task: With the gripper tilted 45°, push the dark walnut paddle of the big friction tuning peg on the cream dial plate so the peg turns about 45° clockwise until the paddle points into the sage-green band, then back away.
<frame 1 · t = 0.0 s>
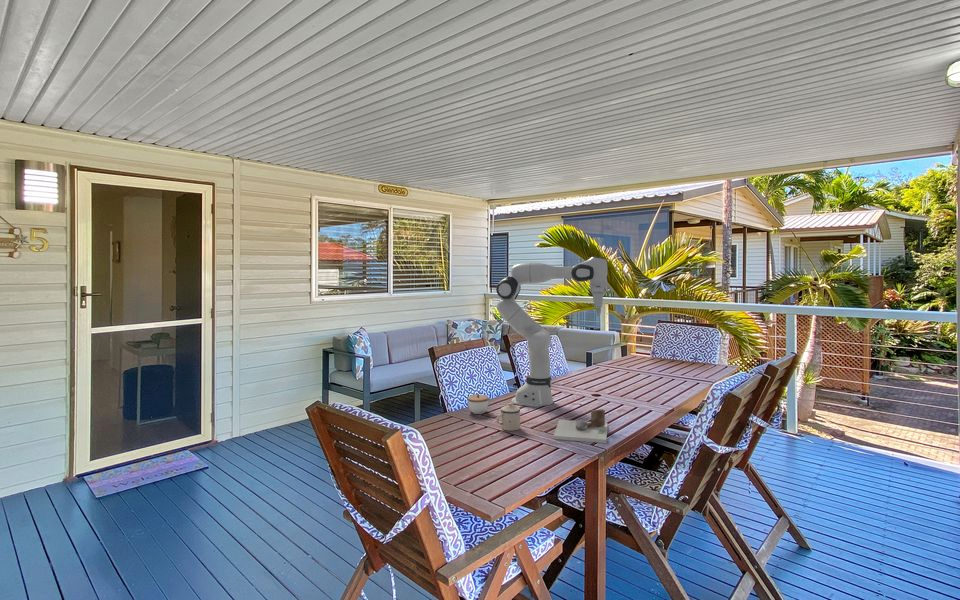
hand: (598, 314, 261), 48 cm above the table, tool pointing down, fingers open, 8 cm apart
teacup with lid: (508, 428, 232), on the table
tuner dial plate: (581, 432, 225), on the table
tuning peg: (590, 419, 226), point 5 cm above the table, hinge at 0.0°
lidded jar: (478, 412, 257), on the table
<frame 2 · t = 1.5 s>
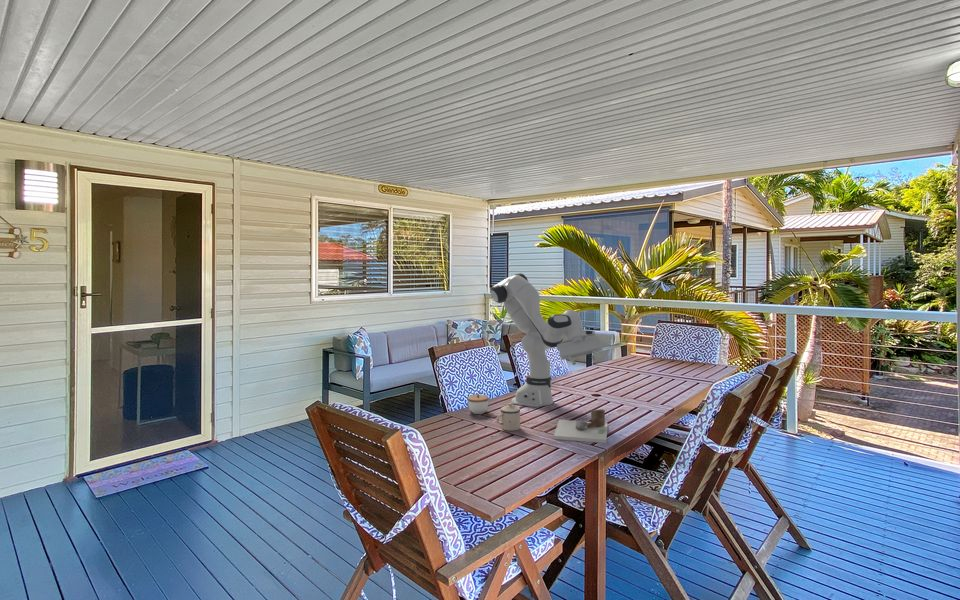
hand: (584, 361, 233), 30 cm above the table, tool tilted 50°, fingers open, 8 cm apart
nothing on the table moved.
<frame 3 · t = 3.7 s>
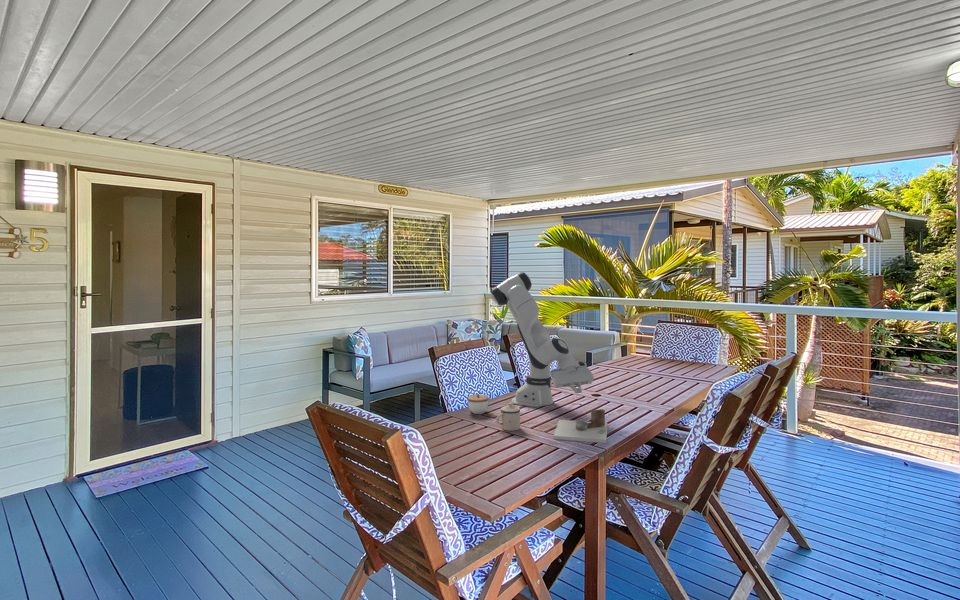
hand: (578, 392, 238), 14 cm above the table, tool tilted 45°, fingers closed
nothing on the table moved.
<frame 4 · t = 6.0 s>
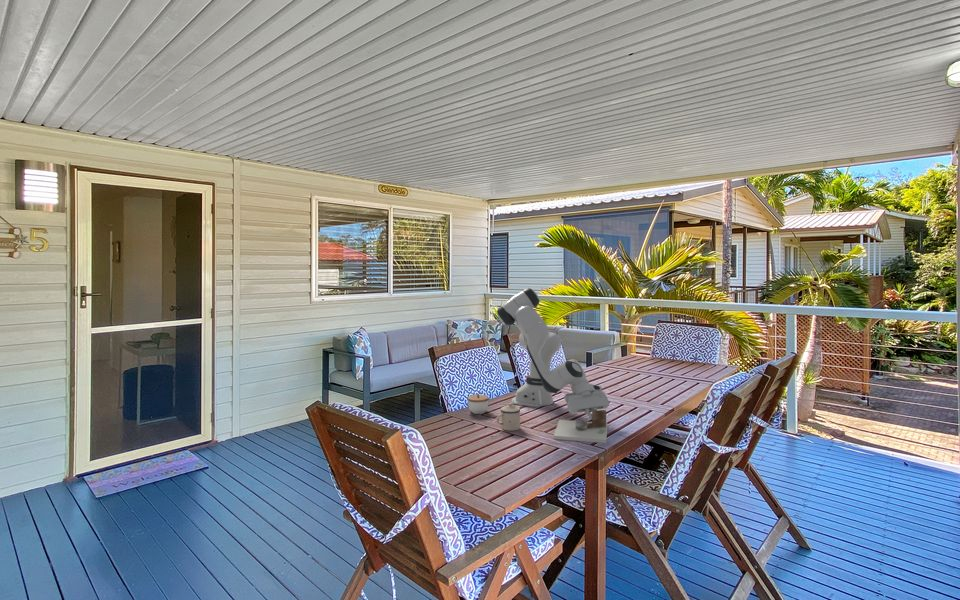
hand: (594, 418, 227), 5 cm above the table, tool tilted 45°, fingers closed, pressing on tuning peg
tuning peg: (590, 419, 225), point 5 cm above the table, hinge at -7.5°, touching gripper
everything else where it was.
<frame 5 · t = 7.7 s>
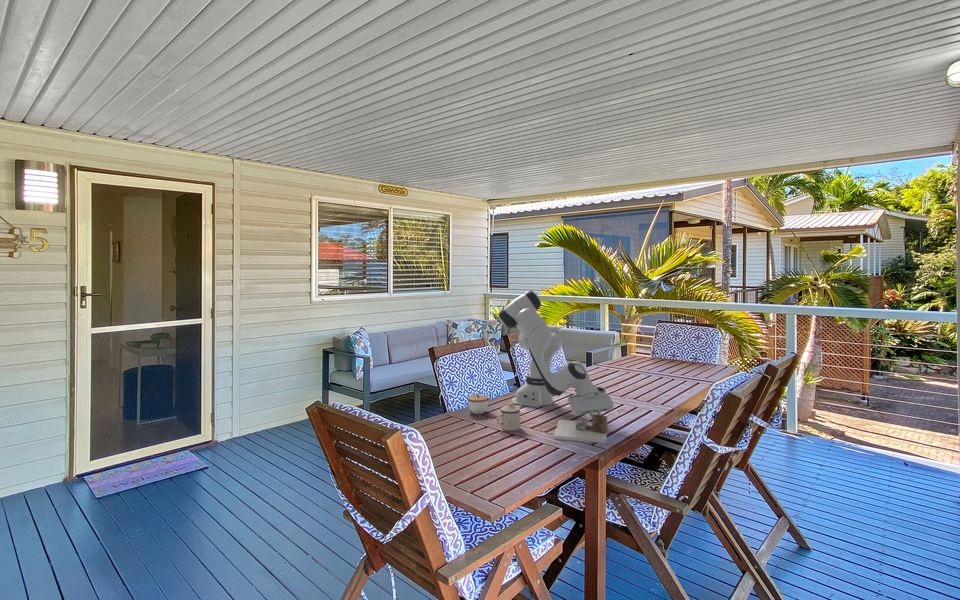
hand: (598, 420, 224), 5 cm above the table, tool tilted 45°, fingers closed
tuning peg: (591, 422, 222), point 5 cm above the table, hinge at -53.9°
everything else where it was.
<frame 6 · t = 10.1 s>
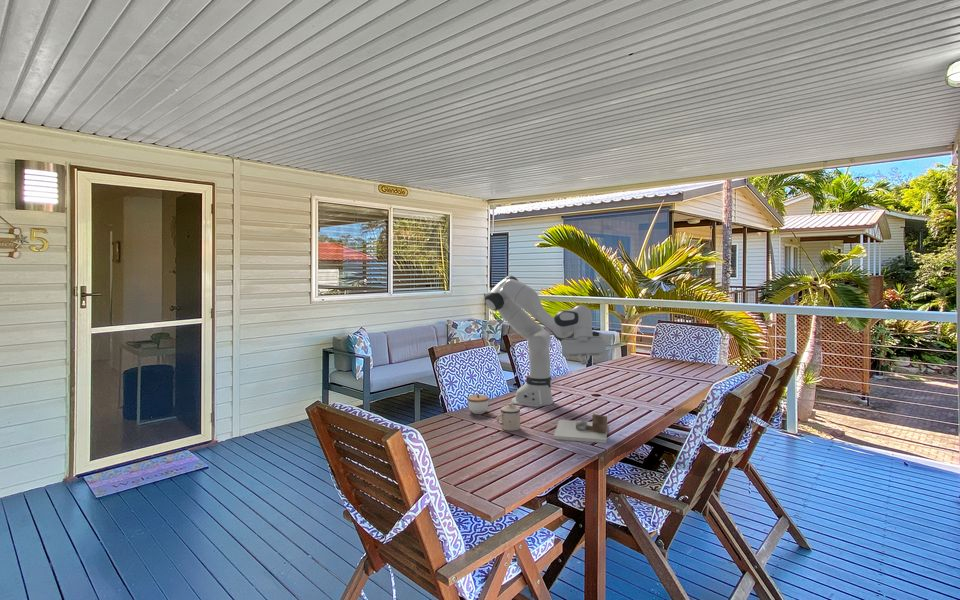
hand: (584, 363, 230), 29 cm above the table, tool tilted 40°, fingers closed
nothing on the table moved.
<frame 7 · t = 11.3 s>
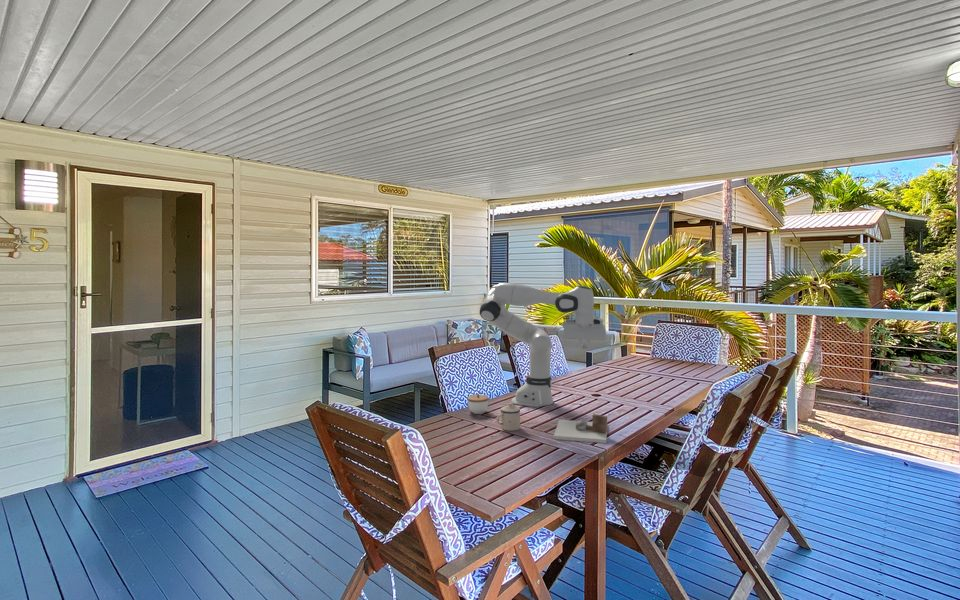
hand: (584, 348, 242), 34 cm above the table, tool pointing down, fingers closed
nothing on the table moved.
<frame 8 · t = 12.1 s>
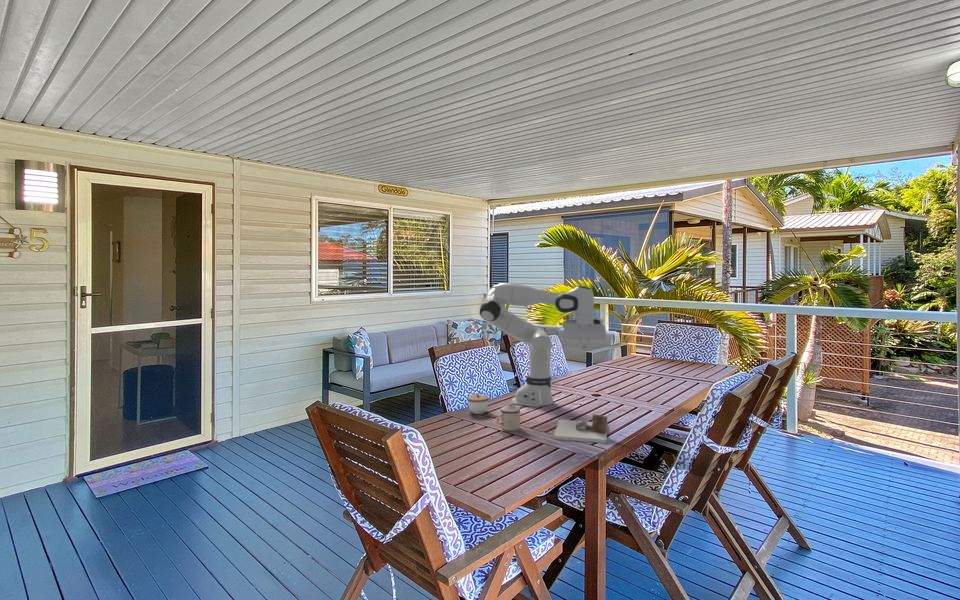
hand: (584, 348, 242), 34 cm above the table, tool pointing down, fingers closed
nothing on the table moved.
at the end: tuning peg at -54° (first picture: +0°) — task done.
